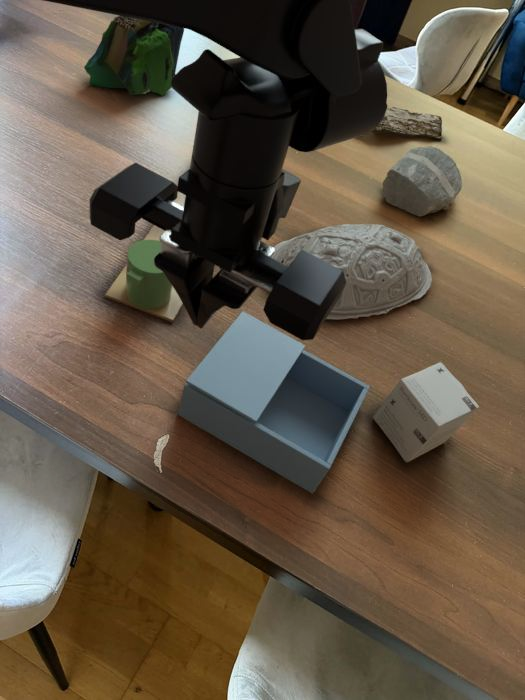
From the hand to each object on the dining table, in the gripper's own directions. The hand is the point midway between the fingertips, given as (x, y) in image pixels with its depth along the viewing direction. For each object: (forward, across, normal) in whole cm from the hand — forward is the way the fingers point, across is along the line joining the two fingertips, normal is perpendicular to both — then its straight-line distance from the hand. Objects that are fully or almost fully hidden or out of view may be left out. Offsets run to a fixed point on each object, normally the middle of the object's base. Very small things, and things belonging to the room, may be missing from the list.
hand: (200, 323), depth 48 cm
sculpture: (+12, +39, -47) cm, 63 cm away
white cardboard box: (+12, -21, -11) cm, 27 cm away
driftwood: (+12, +4, -72) cm, 73 cm away
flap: (+7, -4, -4) cm, 9 cm away
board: (+12, +14, -27) cm, 33 cm away
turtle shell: (+12, -7, -30) cm, 33 cm away
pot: (+12, +11, -10) cm, 19 cm away
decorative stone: (+12, -9, -55) cm, 57 cm away
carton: (+12, -8, -4) cm, 15 cm away
